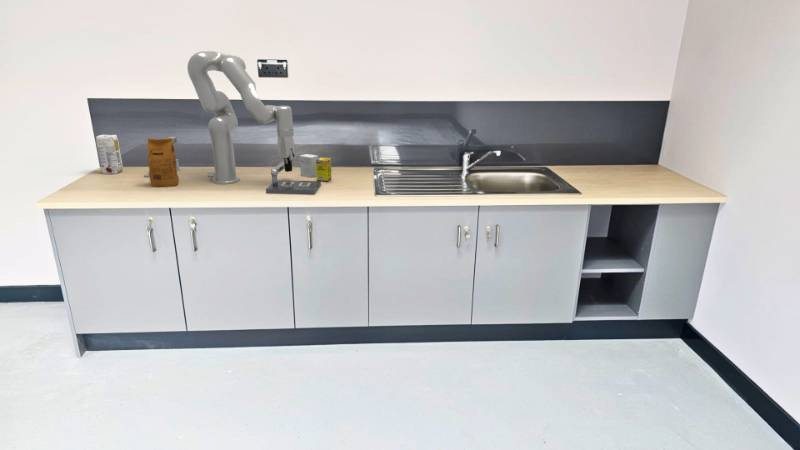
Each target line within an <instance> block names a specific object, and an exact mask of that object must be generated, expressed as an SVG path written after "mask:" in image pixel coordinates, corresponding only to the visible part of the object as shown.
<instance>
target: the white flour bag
mask: <svg viewBox="0 0 800 450" xmlns="http://www.w3.org/2000/svg"><path fill="white" fill-rule="evenodd" d="M95 139H96V140H95V141H96V146H97V151H98V152H97V153H98V155H99V156H98V157H99V163H100V167H101V171H102V173H103V174H104V175H118V174H120V173H122V172H123V170H124V166H123V165H124V164H123V159H122V155H121V150H120V143H119V138H118V136H117V134H100V135H97V136H95Z"/></svg>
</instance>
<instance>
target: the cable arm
mask: <svg viewBox="0 0 800 450" xmlns="http://www.w3.org/2000/svg"><path fill="white" fill-rule="evenodd" d="M283 170H285V167H284V160H282V162H281V163H279V164H278V165H277V166H275V167H274V168H270V175H271V176H272V175H277V176H278V175H279V173H280V172H282V171H283Z"/></svg>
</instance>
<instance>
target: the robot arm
mask: <svg viewBox="0 0 800 450" xmlns="http://www.w3.org/2000/svg"><path fill="white" fill-rule="evenodd" d="M246 66H247V64H246V63H245V61H244V60H243V59H242V58H241V57H240V56H237V55H231V54H227V53H223V52H217V51H211V50H210V51H209V50H207V51H204V50H202V51H198V52H195V53H194V54H193V55H192V56H190V58H189V60H188V63H187V73H188V77H189V78H190V79H189V80H190V81H191V83H192V85H193V87H194V91H195V93H196V95H197V97H198V100H199V102H200V104H201V107H202V109H203V110H204V112H206V113H208V114H214V115H215V116H213V117H212V118H211V119H210V121H209V122H208V125H207V126H208V127H207V128H208V132H209V136H210V139H211V140H210V141H211V148H212V155H213V156H212V157H213V163H214V164H213V167H214V171H213V172H212V171H208V172H206V173H207V177H208V178H212V182H213V183H214V184H219V185H228V184H229V185H230V184H234V183H238V182H240V181H241V179H240V178H241V177H240V176H237V172H236V161H235V158H236V157H235V150H234V148H235V147H234V142H233V138H232V134H231V133H233V132H235V131H236V130H237V129H238V125H239V123H238V118H237V115H236V113H235V110H234V108H233V106H232V103H231V101H230V99H229V97H228V96H227V94H225V92H222V91H219V90H217V89H216V87H215V85H214V82H213V79H212V78H211V77H210V75H209V73H208V72H210V71H216V72H221V73H223V74H224V76H225V77H226V78H227V80H228V81H229V82H230V83H231V85H232V86H233V87H234V88H235V89H236V91H237V92H238V93H239V95H240V98H241V100H242V102H243V104H244V107H246V109H247V110H248V112H249V114H250V115H251V116H252V117H253V118H254V119H255V121H257V122H258V123H260V124H262V125H266V124H268V123H271V122H275V126H276V133H277V135H276V136H277V155H278V156H279V157H281V158H282V159H283V160H282V161H284V167H285V169H284V171H285V172H287V173H288V172H292V171H293V161H294V158H295V156H296V149H295V148H296V147H295V141H294V136H295V135H294V124H293V123H294V122H293V111H292V107H291V106H290V105H271V104H266V105H265V104H264V102H262V100H261V99H260V98H259V96H258V94H257V87H256V82H255V81H254V80H253V79H252V77H251V76H250V75H249V73H248V72H247V71H246V69H247V67H246Z"/></svg>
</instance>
